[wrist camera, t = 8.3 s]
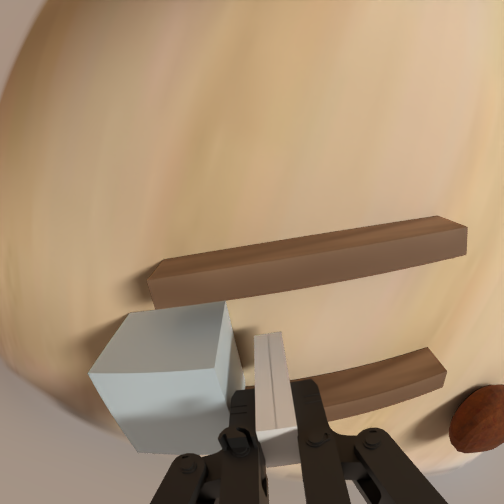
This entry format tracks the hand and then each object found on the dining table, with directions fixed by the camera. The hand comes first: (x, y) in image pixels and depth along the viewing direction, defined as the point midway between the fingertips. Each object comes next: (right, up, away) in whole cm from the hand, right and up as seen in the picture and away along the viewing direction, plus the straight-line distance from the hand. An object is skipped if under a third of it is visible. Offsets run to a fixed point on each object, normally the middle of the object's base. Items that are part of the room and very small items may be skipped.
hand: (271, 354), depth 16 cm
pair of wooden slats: (+3, +1, +1) cm, 4 cm away
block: (-5, -1, +2) cm, 5 cm away
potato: (+21, -9, +5) cm, 24 cm away
